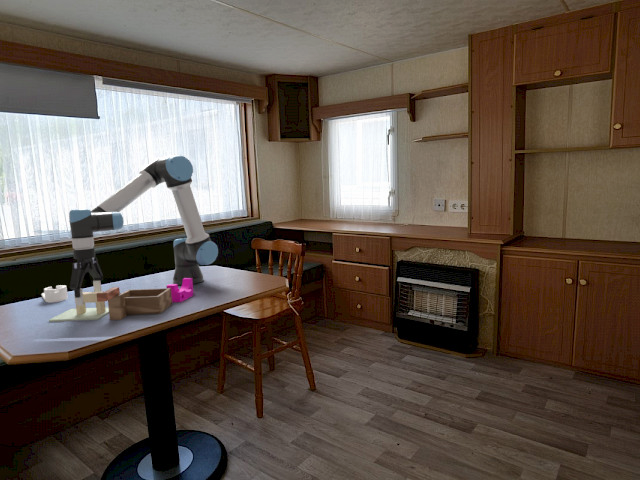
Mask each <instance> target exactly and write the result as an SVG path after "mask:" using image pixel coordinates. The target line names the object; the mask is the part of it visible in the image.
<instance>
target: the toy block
mask: <svg viewBox="0 0 640 480" xmlns="http://www.w3.org/2000/svg"><path fill="white" fill-rule="evenodd" d="M166 288H171V296H172V303H182V302H184V301H186V300H188V299H189V297H190V298H191V297H193V296H194V284H193V281H192V278H184V279H183V282H182V285H181V286H180V287H179V285H178V284H173V283H170V284H167V285H166Z"/></svg>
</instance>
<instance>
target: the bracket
mask: <svg viewBox="0 0 640 480" xmlns="http://www.w3.org/2000/svg"><path fill="white" fill-rule="evenodd" d="M40 295H41V297H42V298H43V301H44V302H45V303H58V302H63V301H65V300H68V298H69V296H68V288H67V285H65V284H64V285H63V284H62V285H61V284H60V285H59V284H58V285H56V286H55V288H53V287H52V286H48V287H45V288H43V292H42V293H41V294H40Z"/></svg>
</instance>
